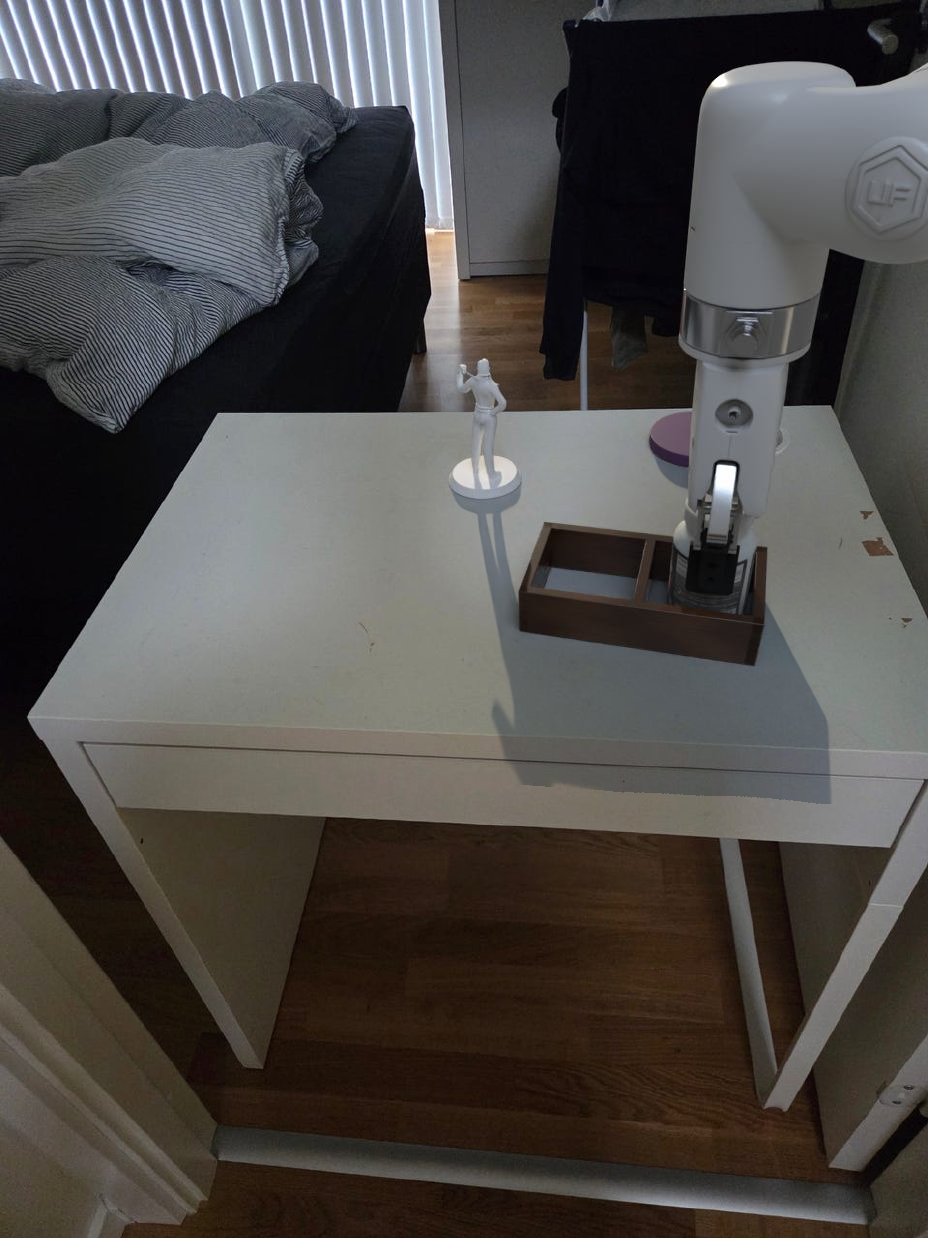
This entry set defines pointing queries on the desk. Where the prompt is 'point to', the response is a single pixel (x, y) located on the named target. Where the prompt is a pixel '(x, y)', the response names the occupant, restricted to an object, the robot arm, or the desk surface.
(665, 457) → the disc
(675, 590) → the pill bottle
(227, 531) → the desk surface
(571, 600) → the rack
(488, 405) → the figurine
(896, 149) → the robot arm
